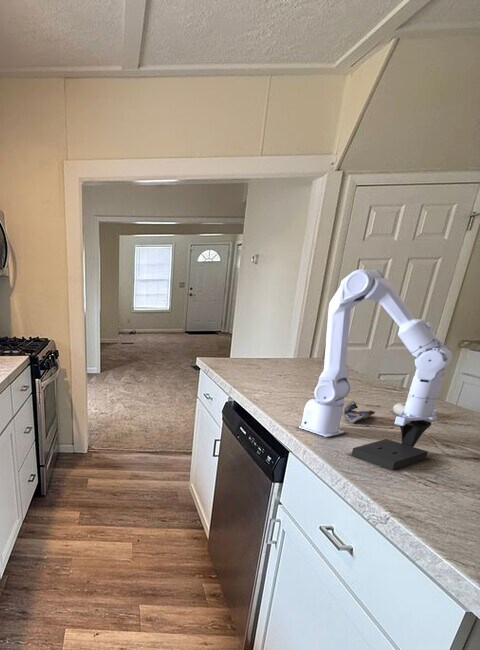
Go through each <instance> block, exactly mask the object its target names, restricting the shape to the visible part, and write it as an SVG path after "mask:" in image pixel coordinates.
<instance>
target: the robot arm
mask: <svg viewBox="0 0 480 650" xmlns="http://www.w3.org/2000/svg"><path fill="white" fill-rule="evenodd" d="M363 300H369V301H372V302H376V303H379V304H380V305H381V306H382V308H383V309H384V310H385V311H386V312H387V314H388V315H389V316H390V317H391V319H392V320H393V321H394V322H395V323H396V325H397V326H398V327H399V328H398V332H397V336H398V338H399V339H400V341H401V342H402V343H403V344H404V346H405V347H406V349H407V350H408V351H409V353H410V354H411V356H413V357H415V359H414V366H415V368H416V370H415V373H414V376H413V377H412V381H411V384H410V388H409V392H408V394H407V398H406V405H405V408H404V411H402V413H401V414H400V415H397V416H395V420H394V425H397V426H399V429H400V433H401V434H400V435H401V443H402V444H405V445H408V446H412V447H415V446H416V444H417V443H418V441H419V440H420V438H421V436H422V435H423V434H424V433H425V431H427V429H429V428H430V427H431V426H432V422H431V421H437V419H438V417H437V413H438V409H435V407H436V403H437V401H438V397H439V394H440V391H441V388H442V385H443V382H444V376H445V374H446V367H447V366H449V364H450V363H452V362H451V361H452V360H453V353H452V351H451V347H449V346H447V345H445V341H444V340H443V339H439V338H438V336H437V335H436V334H435V332H434V331H433V330H432V327H433V324H432V323H431V322H430V321H428V322H426V321H425V319H422V318H415V317H414V316H413V314H412V312H411V311H410V310H409V308H408V306H407V305H406V304H405V302H404V301H403V299H402V298H401V296H400V295H399V293H398V292H397V290H396V288H395V287H394V286H393V284H392V283H391V280H389V279H388V278H387V277H385V276H384V274H383V272H382V271H380V270H378V269H364V268H363V269H361V268H359V269H356V270H353V271H351V272H350V273H349V274H348V275H347V276H345V277H344V278H343V279H341V280H340V285H339V287H338V289H337V290H336V291H335V293H334V295H333V297H332V298H331V299H330V301H329V304H328V309H327V311H328V313H327V325H326V337H325V350H324V351H325V352H324V363H323V370H322V372H321V373H320V375H319V377H318V383H317V385H316V387H315V388H314V392H313V395H314V398H311V399H309V400H308V401H307V402H306V404H305V406H304V410H303V414H302V420H301V423H300V424H301V425H299V426H298V427H299V429H302V430H305V431H308V432H311V433H313V434H317V435H319V436H322V437H325V438H330V437H333V436H337V435H341V434H344V433H345V430H342V429H340V428H339V427H340V424H341V421H342V416H343V415H342V414H343V410H344V408H345V407H344V406H345V398H346V397H347V396H348V395H349V394H350V392H351V383H350V381H349V373H348V371H347V368H346V367H347V358H348V357H347V356H348V345H349V336H350V335H349V334H350V324H351V313H352V310H353V308H355V307H356V306H357V305H358V304H360V303H361V302H362V301H363Z"/></svg>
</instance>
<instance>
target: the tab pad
mask: <svg viewBox="0 0 480 650" xmlns="http://www.w3.org/2000/svg"><path fill="white" fill-rule="evenodd" d="M369 444H373V445H376V446H379V447H381V449H380V450H383V451H386V452H389V453H392V454H396V453H401V454H405V455H408V456H411V460H410V464H409V465H412V464H416V462H420V461H423V460H426V459H427V457H428V454H429V451H428V450H425V449H422V448H418V447H415V446H414V447H412V446H408V445H405V444H402V442H398V441H395V440H392V439H388V438H385V439H381V440H378V441H374V442H370V443H369Z"/></svg>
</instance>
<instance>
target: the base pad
mask: <svg viewBox="0 0 480 650" xmlns="http://www.w3.org/2000/svg"><path fill="white" fill-rule="evenodd" d="M380 449H381V447H379V446H376V445H373V444H370V443H366V444H363V445H359V446H356V447H353V448H352V451H351V456H352V457H355V458H358V459H360V460H363V461H366V462H368V463H369V462H370V463H372V464H374V465H377V466H379V467H383V468H385V469H388V470H391V471H393V470H396V469H400V468H402V467H405V466H408V465H411V464H410V460H411V456H408V455H405V454H401V453H396V454H392V453H389V452H386V451H383V450H380Z"/></svg>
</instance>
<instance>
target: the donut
mask: <svg viewBox="0 0 480 650" xmlns="http://www.w3.org/2000/svg"><path fill="white" fill-rule="evenodd" d="M405 405H406V402H404V401H403V402H398V403H395V404H394V405H393V408H392V411H393V413H394V414H395V415H397V416H399V415H400V414H401V413H402V411H404V408H405Z"/></svg>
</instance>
